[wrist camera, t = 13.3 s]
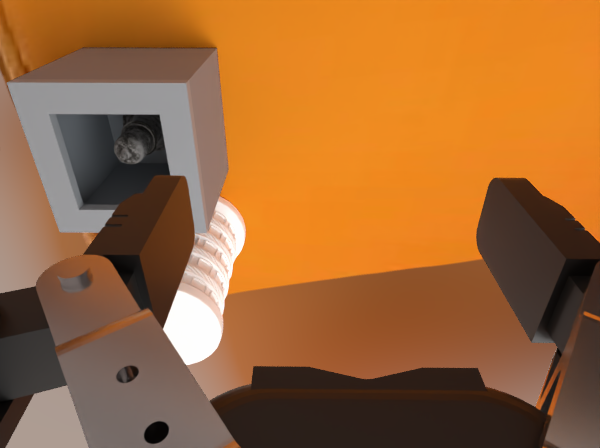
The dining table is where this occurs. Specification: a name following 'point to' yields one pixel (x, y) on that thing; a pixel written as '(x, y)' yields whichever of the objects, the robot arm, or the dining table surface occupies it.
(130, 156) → the salt shaker
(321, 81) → the dining table surface
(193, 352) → the decorative container
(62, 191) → the box
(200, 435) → the robot arm
